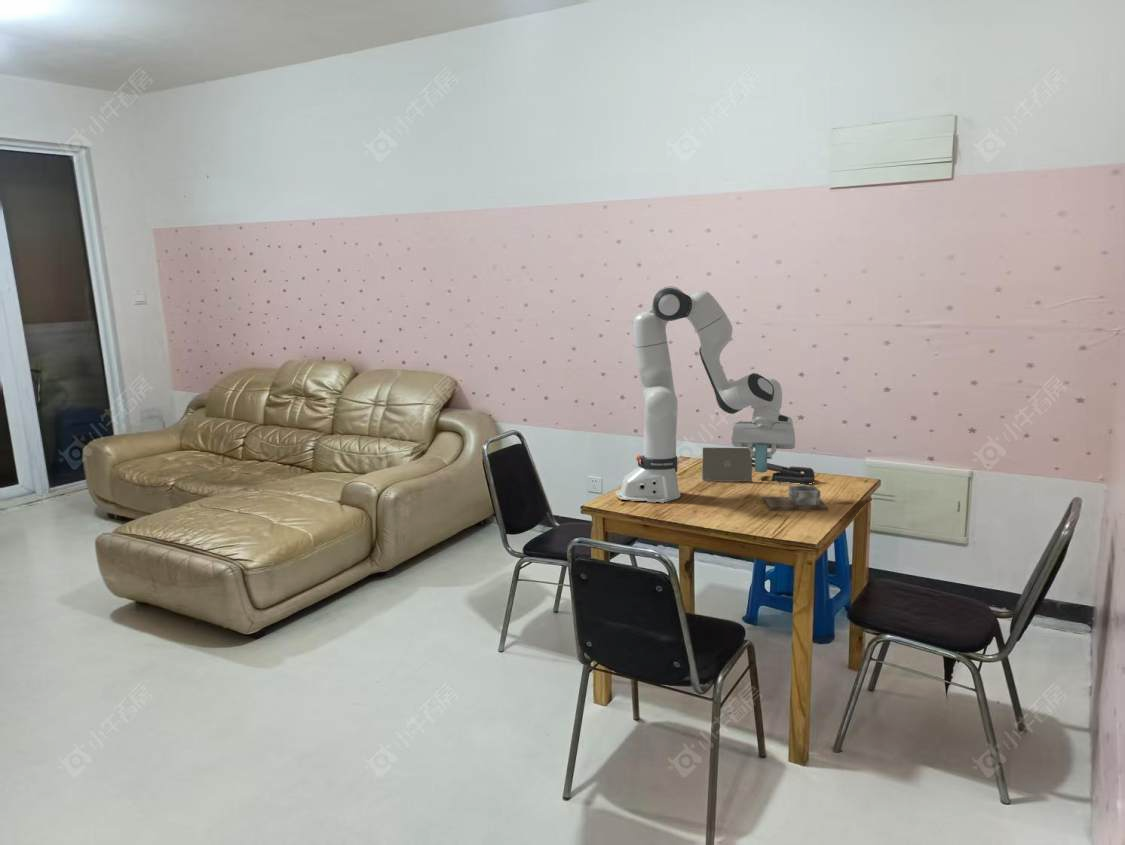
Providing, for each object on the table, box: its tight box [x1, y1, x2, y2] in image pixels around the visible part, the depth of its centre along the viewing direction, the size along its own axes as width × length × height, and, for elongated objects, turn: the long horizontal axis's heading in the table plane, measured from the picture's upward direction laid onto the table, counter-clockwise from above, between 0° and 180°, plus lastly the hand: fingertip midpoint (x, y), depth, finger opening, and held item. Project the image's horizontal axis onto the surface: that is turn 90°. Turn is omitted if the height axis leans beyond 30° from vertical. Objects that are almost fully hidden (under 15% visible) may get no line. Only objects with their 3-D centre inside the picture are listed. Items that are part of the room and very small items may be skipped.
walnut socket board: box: [762, 484, 829, 512], centre depth 250 cm, size 18×12×6 cm, turn 88°
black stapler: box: [752, 458, 816, 485], centre depth 284 cm, size 9×7×25 cm
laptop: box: [700, 447, 753, 482], centre depth 288 cm, size 18×12×13 cm
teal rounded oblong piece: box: [754, 444, 768, 473], centre depth 247 cm, size 4×4×8 cm
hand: (761, 457), depth 246 cm, fingers closed on teal rounded oblong piece, 4 cm apart
